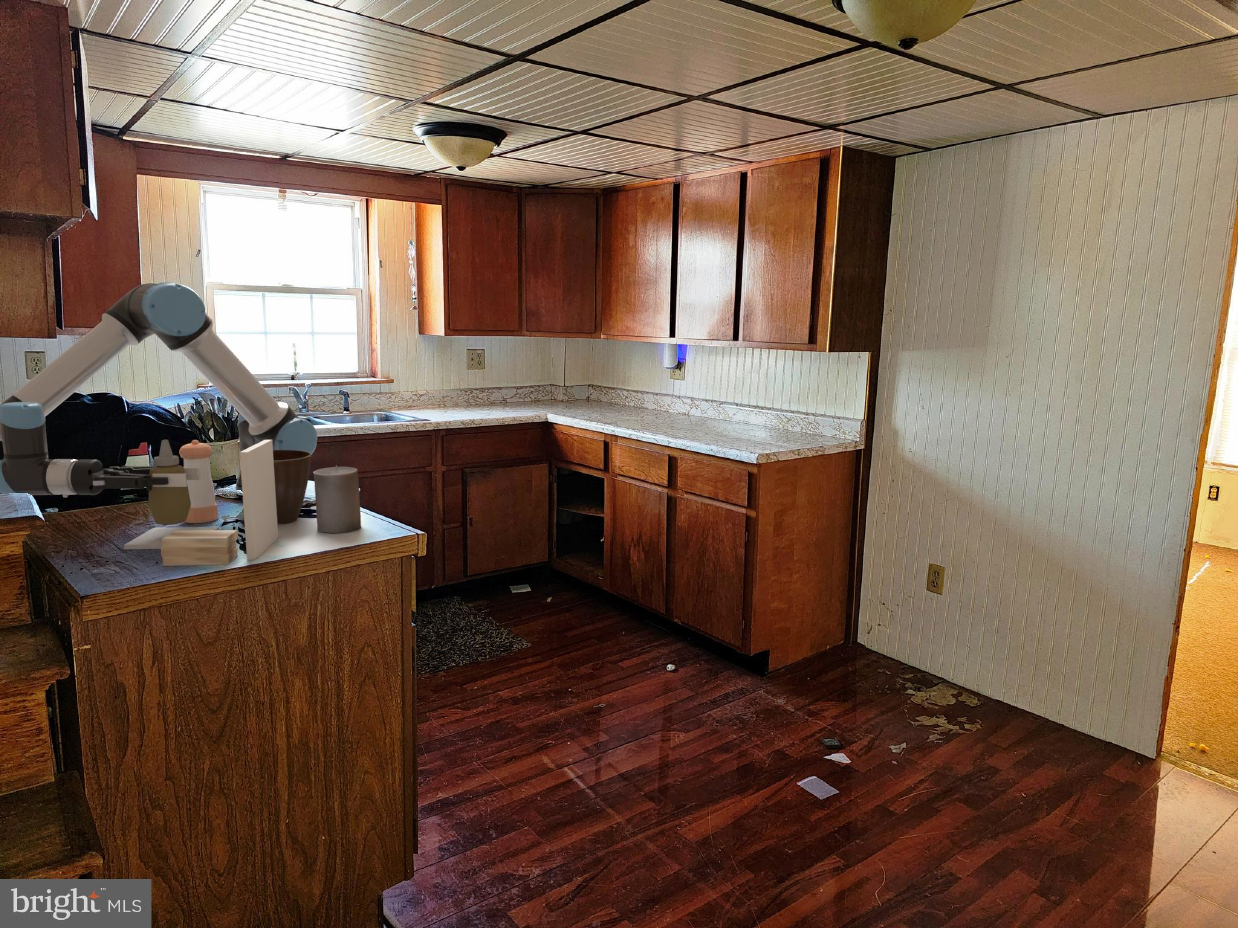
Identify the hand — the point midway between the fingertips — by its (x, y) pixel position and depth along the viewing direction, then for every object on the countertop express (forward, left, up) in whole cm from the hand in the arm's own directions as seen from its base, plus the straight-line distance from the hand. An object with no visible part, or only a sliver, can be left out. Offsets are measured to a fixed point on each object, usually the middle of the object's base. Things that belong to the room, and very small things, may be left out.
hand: (192, 476), depth 175 cm
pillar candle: (-8, +28, -14) cm, 33 cm away
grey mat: (0, -5, -14) cm, 15 cm away
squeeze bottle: (0, -5, -10) cm, 11 cm away
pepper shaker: (-18, -6, -14) cm, 24 cm away
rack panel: (+8, +16, -14) cm, 23 cm away
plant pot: (-16, +13, -14) cm, 25 cm away
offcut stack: (+16, +7, -14) cm, 22 cm away
